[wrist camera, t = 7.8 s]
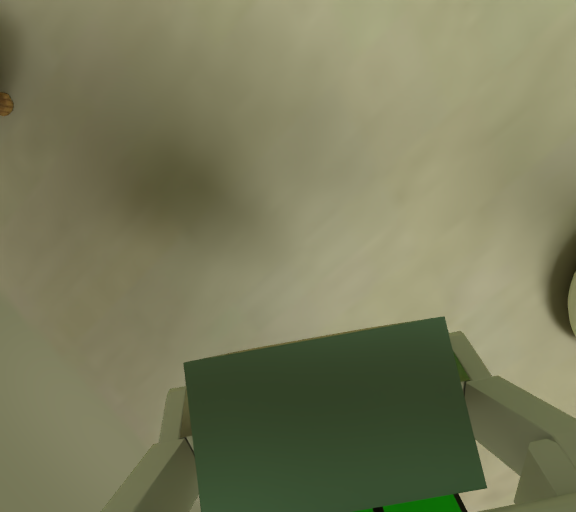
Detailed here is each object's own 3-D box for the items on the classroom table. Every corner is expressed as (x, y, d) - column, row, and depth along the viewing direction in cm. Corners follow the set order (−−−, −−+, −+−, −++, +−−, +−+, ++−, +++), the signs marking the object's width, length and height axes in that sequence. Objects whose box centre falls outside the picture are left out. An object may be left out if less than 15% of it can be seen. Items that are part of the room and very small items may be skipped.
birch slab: (382, 400, 17) (487, 488, 7) (263, 422, 17) (203, 537, 7) (366, 328, 18) (444, 316, 8) (251, 348, 18) (183, 362, 8)
